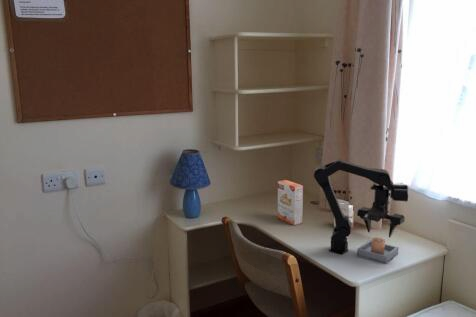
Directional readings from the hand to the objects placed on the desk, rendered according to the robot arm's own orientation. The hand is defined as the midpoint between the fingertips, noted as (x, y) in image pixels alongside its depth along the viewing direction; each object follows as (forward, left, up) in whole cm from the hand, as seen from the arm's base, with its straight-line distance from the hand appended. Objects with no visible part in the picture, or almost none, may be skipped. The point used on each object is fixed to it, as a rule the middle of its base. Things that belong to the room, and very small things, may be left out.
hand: (379, 234), depth 187 cm
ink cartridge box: (-27, +21, -10) cm, 36 cm away
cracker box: (-53, +11, -10) cm, 55 cm away
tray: (0, 0, -9) cm, 9 cm away
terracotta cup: (0, 0, -8) cm, 8 cm away
